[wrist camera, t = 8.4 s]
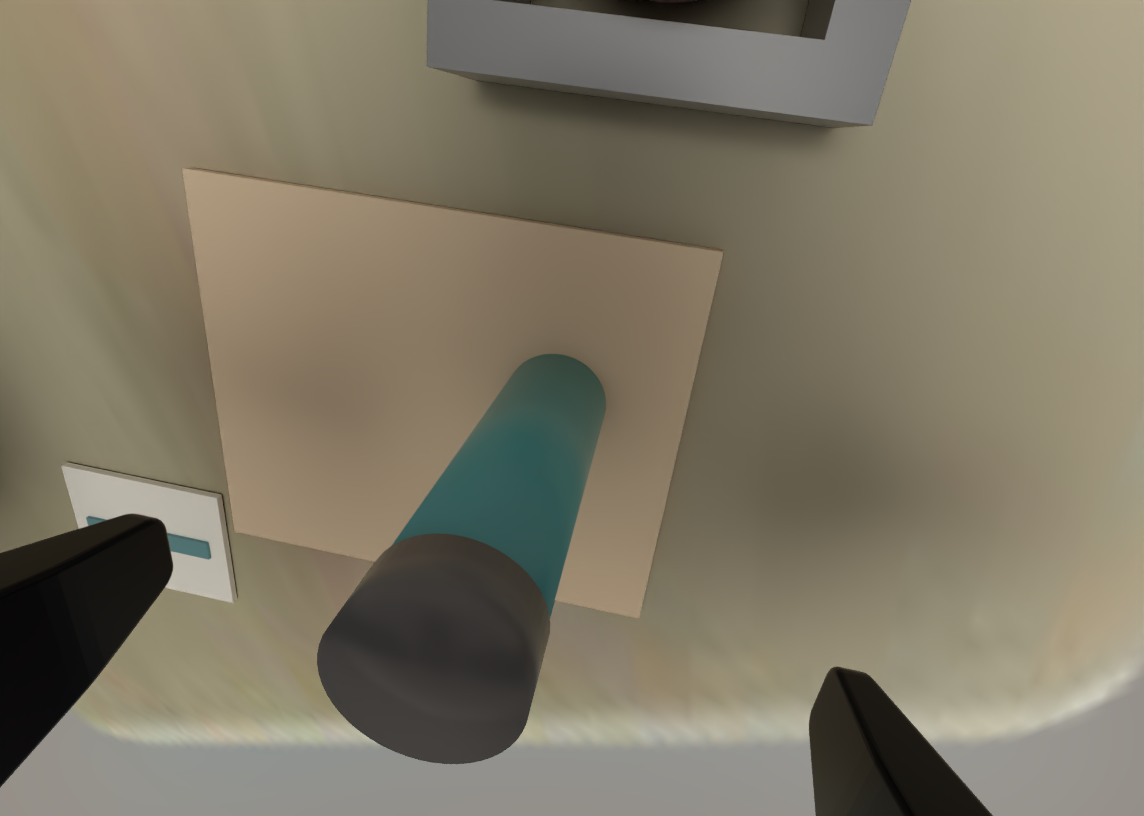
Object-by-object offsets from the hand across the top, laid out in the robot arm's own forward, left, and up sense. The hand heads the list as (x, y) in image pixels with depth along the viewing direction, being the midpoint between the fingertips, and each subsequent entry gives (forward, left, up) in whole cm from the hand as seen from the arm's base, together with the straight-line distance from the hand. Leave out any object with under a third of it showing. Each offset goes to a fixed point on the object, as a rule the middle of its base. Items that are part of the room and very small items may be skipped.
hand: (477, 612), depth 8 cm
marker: (0, 0, -7) cm, 7 cm away
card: (-12, -7, -7) cm, 16 cm away
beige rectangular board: (-3, -1, -7) cm, 8 cm away
